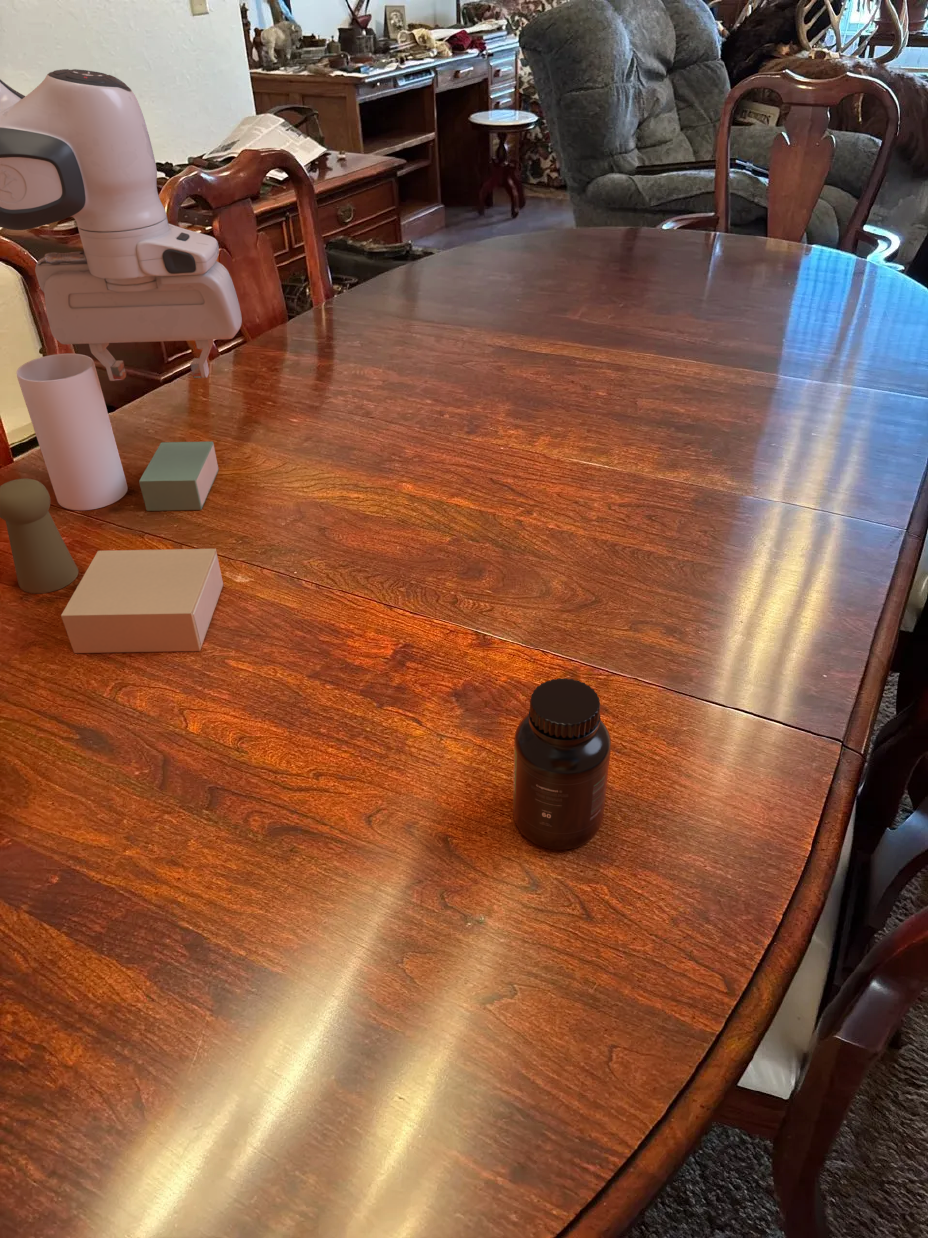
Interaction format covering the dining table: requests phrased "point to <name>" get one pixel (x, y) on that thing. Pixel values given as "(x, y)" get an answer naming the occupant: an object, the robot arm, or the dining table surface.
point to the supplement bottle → (561, 766)
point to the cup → (73, 430)
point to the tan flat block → (144, 601)
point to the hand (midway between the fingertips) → (160, 377)
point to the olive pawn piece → (35, 538)
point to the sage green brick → (179, 476)
